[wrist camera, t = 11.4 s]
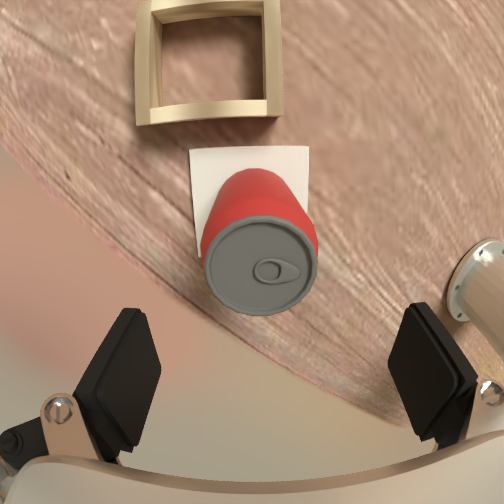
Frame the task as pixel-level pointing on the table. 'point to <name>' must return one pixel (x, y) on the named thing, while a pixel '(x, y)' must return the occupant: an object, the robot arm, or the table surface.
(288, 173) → the coaster
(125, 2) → the table surface
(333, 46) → the table surface
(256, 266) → the beer can
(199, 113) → the frame
